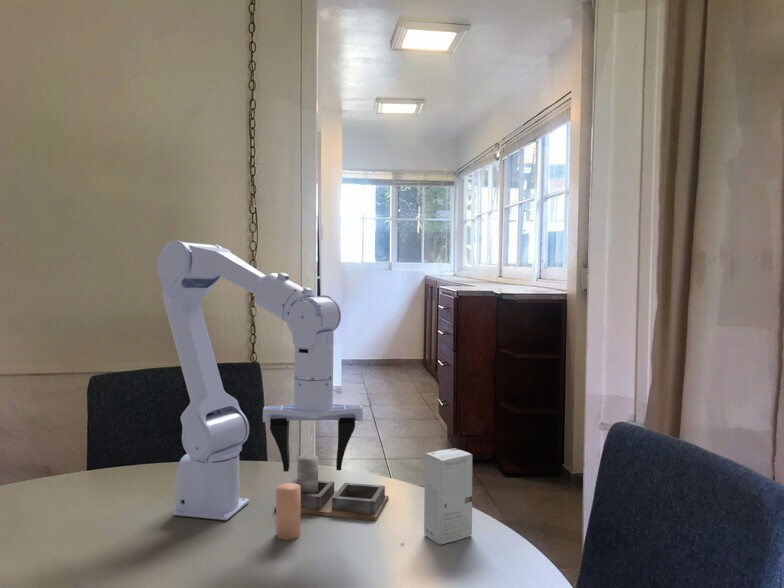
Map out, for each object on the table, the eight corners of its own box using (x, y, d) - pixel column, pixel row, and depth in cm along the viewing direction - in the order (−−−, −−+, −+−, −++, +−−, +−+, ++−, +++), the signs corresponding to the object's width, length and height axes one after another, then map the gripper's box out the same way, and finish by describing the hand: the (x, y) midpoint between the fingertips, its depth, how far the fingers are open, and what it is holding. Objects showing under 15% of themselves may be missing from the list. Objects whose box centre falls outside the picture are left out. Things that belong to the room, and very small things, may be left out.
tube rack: (274, 511, 91) (274, 464, 91) (295, 491, 100) (295, 448, 99) (376, 520, 87) (376, 472, 87) (388, 499, 96) (388, 455, 96)
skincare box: (441, 546, 79) (441, 460, 79) (422, 534, 83) (422, 452, 82) (474, 535, 82) (474, 453, 82) (454, 524, 86) (455, 446, 86)
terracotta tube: (272, 538, 81) (272, 490, 81) (281, 528, 84) (282, 482, 84) (295, 541, 80) (295, 492, 80) (303, 530, 84) (304, 484, 84)
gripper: (260, 382, 78) (259, 479, 78) (364, 382, 80) (362, 476, 80) (266, 374, 85) (265, 463, 85) (361, 374, 87) (360, 461, 87)
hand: (312, 468), depth 83 cm, fingers open, 7 cm apart
